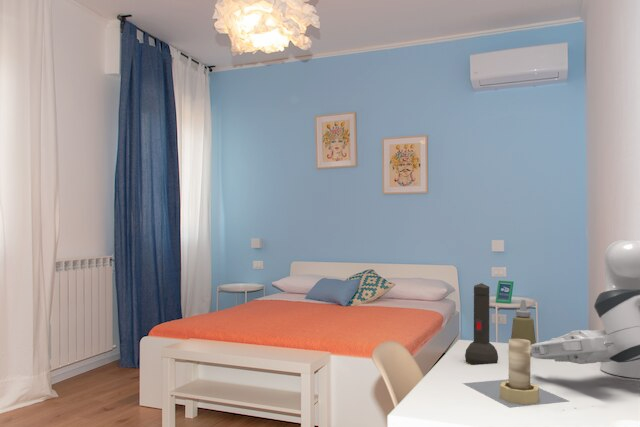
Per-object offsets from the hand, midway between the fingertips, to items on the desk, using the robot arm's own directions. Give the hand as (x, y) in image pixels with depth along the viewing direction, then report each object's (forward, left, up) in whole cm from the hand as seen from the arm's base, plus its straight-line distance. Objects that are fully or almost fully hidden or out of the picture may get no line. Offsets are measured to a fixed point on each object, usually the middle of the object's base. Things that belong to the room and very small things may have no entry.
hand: (547, 348), depth 141 cm
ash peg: (+12, +5, -10) cm, 17 cm away
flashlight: (-1, -31, -12) cm, 33 cm away
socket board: (+10, 0, -11) cm, 15 cm away
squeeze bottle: (-22, -38, -12) cm, 46 cm away
